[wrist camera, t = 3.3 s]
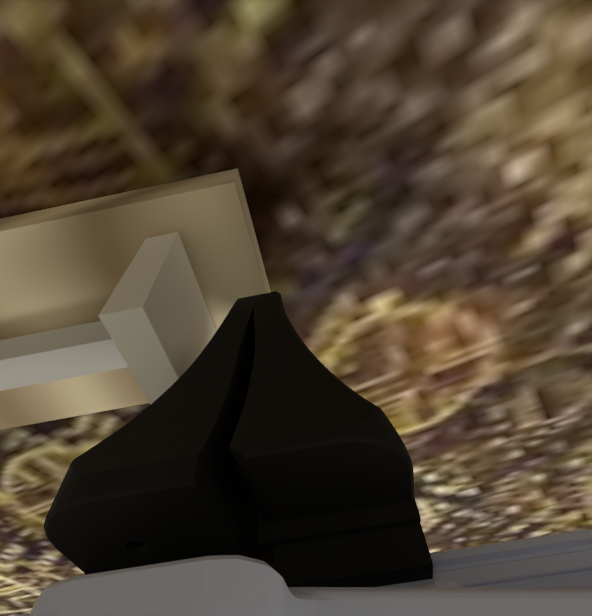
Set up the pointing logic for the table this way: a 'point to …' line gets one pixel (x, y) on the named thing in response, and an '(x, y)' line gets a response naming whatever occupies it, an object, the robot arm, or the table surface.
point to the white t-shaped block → (125, 328)
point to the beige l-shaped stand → (116, 276)
